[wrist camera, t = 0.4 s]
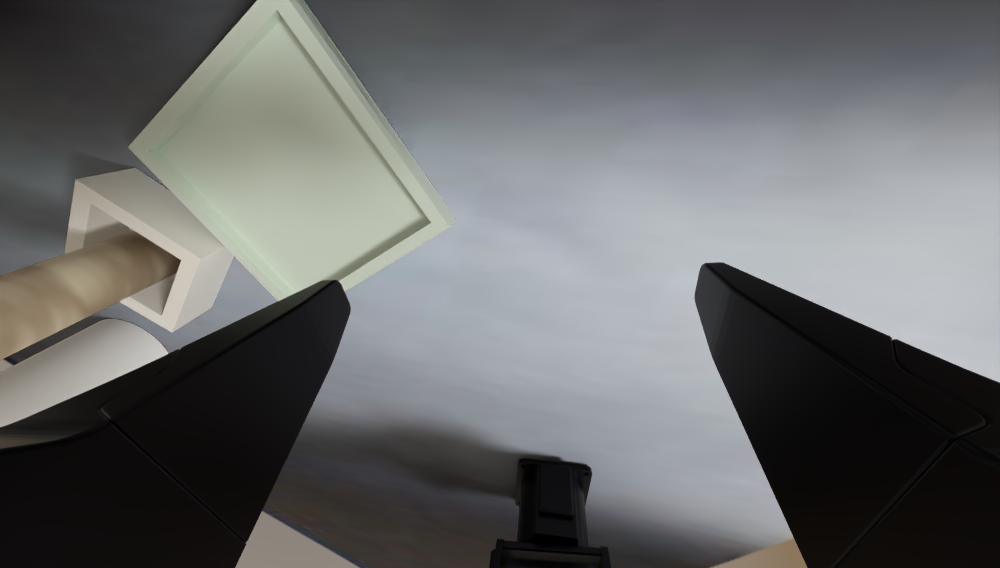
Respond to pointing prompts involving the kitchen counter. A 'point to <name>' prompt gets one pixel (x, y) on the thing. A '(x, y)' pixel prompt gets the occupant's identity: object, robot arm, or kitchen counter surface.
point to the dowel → (76, 287)
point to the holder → (166, 222)
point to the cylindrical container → (75, 367)
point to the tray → (291, 157)
